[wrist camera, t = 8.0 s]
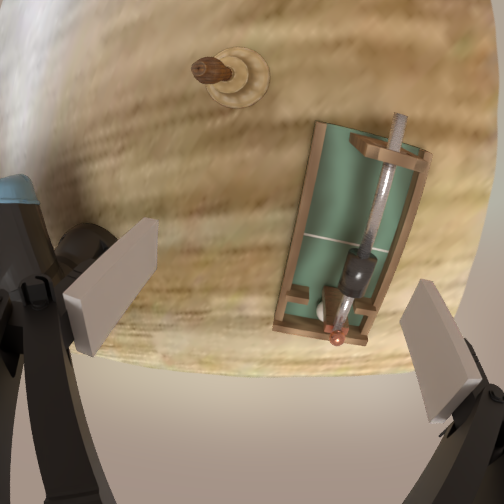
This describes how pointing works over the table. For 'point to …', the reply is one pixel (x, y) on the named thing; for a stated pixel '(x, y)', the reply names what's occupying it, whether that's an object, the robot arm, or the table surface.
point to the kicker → (361, 250)
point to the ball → (320, 311)
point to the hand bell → (234, 76)
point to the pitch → (347, 226)
